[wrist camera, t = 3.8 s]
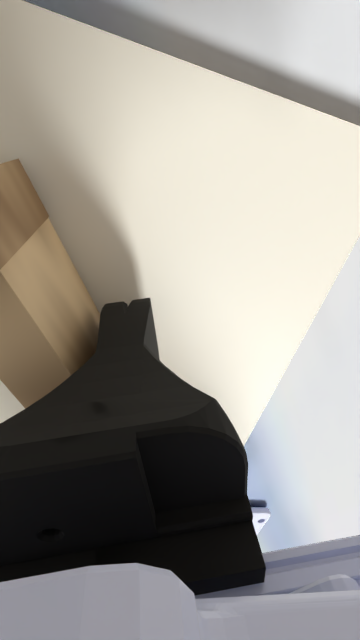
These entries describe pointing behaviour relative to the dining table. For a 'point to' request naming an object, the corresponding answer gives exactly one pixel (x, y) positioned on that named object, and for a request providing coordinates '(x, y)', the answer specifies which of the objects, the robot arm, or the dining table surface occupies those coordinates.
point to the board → (181, 197)
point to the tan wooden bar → (38, 296)
